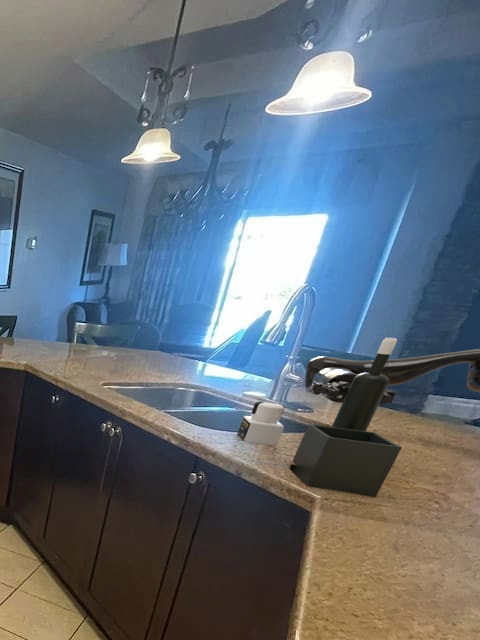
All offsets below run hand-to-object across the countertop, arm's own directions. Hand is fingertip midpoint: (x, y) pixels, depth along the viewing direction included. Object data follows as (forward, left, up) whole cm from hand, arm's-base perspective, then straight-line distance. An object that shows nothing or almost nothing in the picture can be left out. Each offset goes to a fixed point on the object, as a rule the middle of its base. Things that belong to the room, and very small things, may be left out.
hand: (360, 397), depth 114 cm
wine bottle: (0, +2, -17) cm, 17 cm away
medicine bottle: (+14, -5, -17) cm, 23 cm away
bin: (+5, +17, -16) cm, 24 cm away
